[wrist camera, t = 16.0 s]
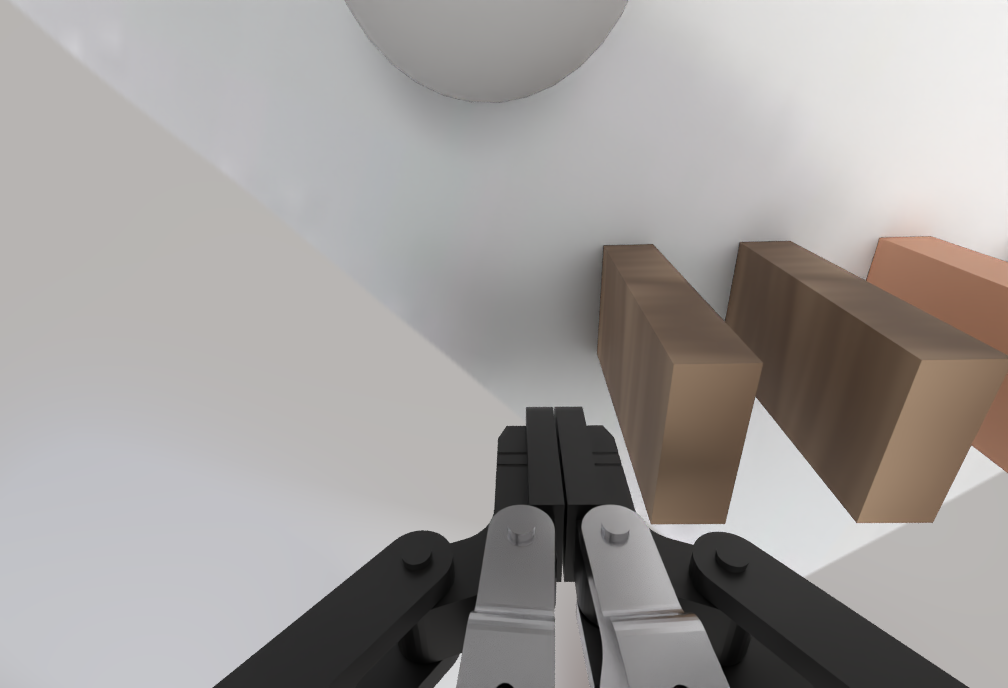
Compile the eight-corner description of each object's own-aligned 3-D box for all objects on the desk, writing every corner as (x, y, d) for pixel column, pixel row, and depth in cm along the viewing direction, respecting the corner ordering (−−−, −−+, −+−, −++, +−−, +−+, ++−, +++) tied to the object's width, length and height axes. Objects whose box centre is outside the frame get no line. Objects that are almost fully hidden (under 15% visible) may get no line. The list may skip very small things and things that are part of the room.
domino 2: (719, 351, 22) (856, 523, 13) (740, 242, 20) (921, 360, 11) (764, 350, 22) (933, 522, 13) (789, 240, 20) (1014, 358, 11)
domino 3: (844, 348, 22) (1069, 520, 13) (879, 237, 20) (1180, 354, 11) (890, 347, 22) (1148, 520, 13) (930, 236, 20) (1276, 353, 11)
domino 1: (597, 353, 22) (651, 524, 13) (603, 245, 20) (673, 364, 11) (641, 352, 22) (724, 524, 13) (652, 244, 20) (763, 362, 11)
